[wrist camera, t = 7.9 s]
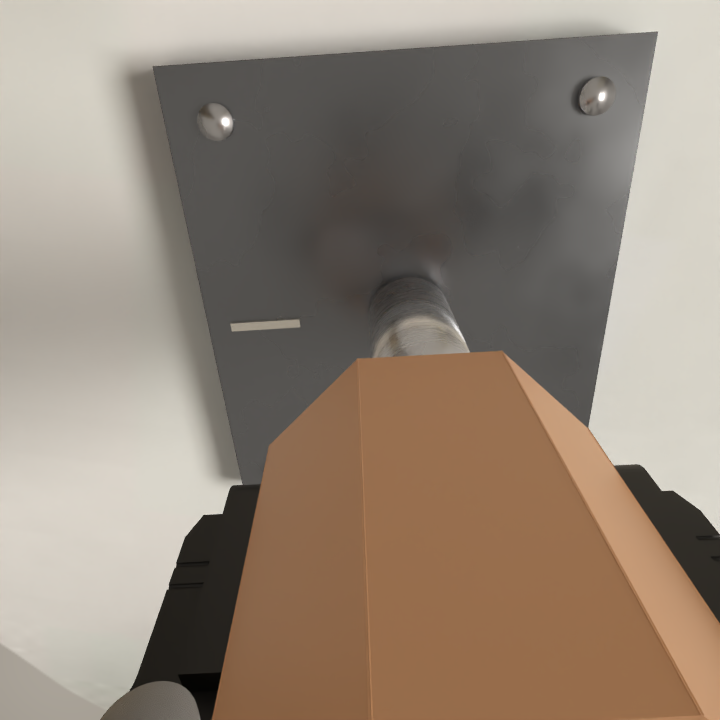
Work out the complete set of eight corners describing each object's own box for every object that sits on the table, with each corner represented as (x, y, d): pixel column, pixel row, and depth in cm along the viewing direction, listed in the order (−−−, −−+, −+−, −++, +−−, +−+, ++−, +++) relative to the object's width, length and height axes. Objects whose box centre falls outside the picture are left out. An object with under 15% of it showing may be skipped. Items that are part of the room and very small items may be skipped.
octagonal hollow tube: (604, 344, 9) (1028, 797, 4) (558, 579, 12) (744, 1030, 7) (238, 364, 9) (63, 844, 4) (282, 593, 12) (224, 1053, 7)
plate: (568, 462, 23) (636, 581, 17) (250, 481, 23) (220, 604, 18) (636, 35, 15) (794, 9, 10) (165, 67, 16) (66, 59, 10)
